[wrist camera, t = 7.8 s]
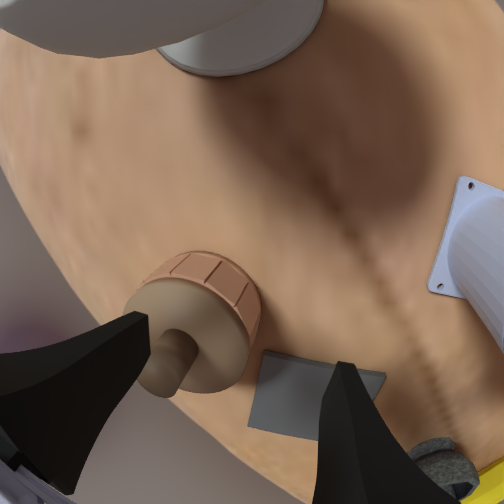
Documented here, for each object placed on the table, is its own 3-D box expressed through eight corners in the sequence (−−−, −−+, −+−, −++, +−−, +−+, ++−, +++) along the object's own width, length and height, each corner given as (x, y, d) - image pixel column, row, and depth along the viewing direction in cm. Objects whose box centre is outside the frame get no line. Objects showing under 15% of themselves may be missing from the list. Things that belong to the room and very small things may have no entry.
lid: (277, 333, 17) (262, 386, 13) (211, 400, 21) (190, 444, 17) (156, 249, 17) (111, 282, 13) (117, 335, 21) (83, 370, 17)
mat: (384, 372, 22) (385, 377, 21) (345, 440, 25) (344, 444, 25) (265, 350, 23) (263, 354, 23) (248, 422, 27) (247, 426, 26)
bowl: (270, 265, 20) (257, 293, 17) (253, 358, 24) (240, 393, 20) (157, 240, 22) (127, 260, 18) (158, 331, 25) (135, 358, 21)
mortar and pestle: (375, 456, 26) (373, 549, 15) (449, 416, 22) (470, 516, 11) (417, 480, 27) (420, 554, 16) (479, 447, 23) (495, 524, 12)
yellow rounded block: (520, 457, 23) (517, 442, 22) (529, 488, 17) (528, 478, 16) (424, 506, 30) (409, 497, 29) (426, 537, 24) (410, 532, 23)
